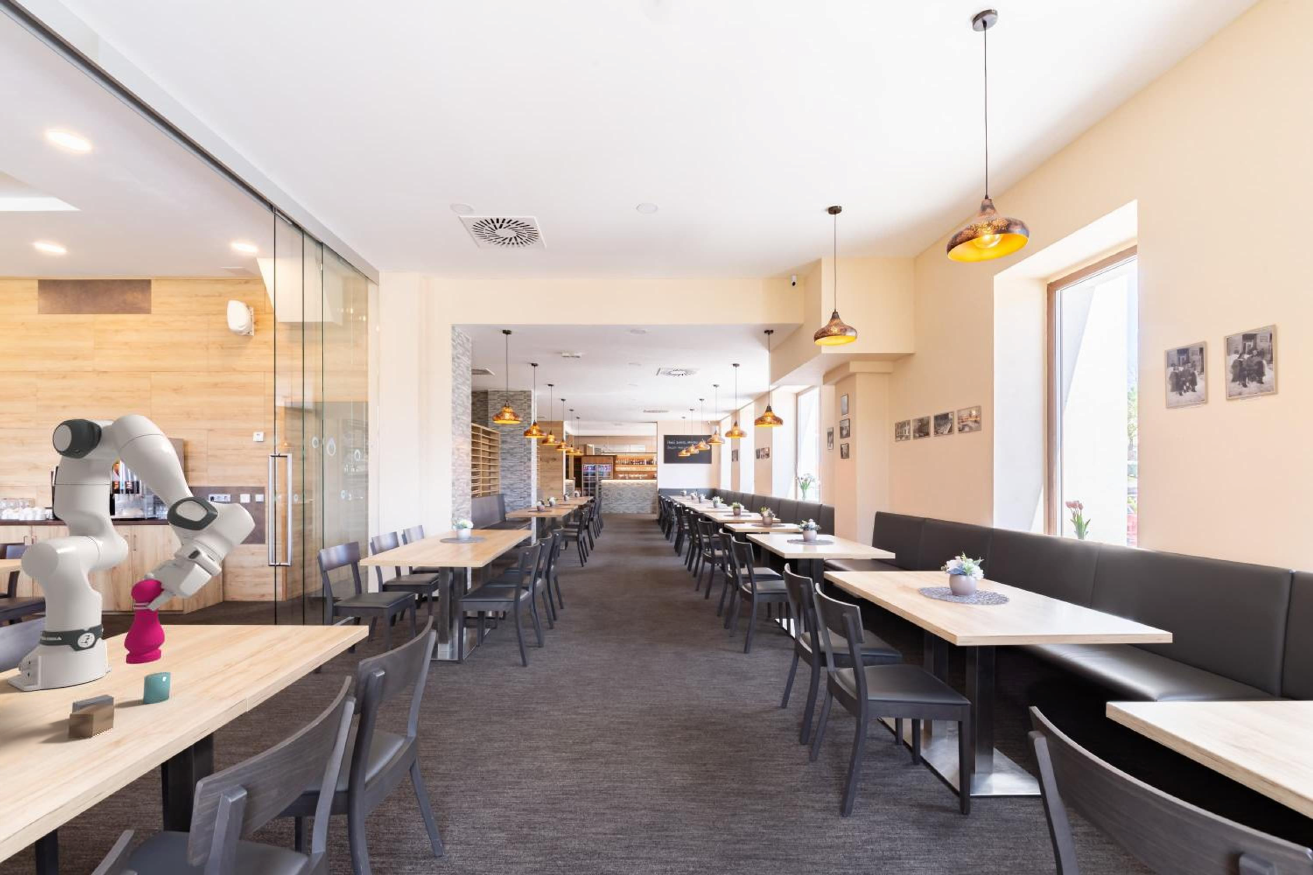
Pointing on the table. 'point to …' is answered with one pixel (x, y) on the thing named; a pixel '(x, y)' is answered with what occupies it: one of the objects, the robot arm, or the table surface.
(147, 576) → the pepper mill
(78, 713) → the walnut block
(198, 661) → the table surface
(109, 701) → the charcoal block
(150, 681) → the teal glazed cylinder
